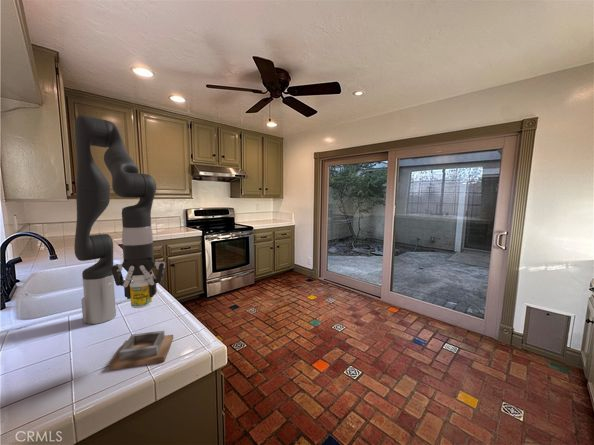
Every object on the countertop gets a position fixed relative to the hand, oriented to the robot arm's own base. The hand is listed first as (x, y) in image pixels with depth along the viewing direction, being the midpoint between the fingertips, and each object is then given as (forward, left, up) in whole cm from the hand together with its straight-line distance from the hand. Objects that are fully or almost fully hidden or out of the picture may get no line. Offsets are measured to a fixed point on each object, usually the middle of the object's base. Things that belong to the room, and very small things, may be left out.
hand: (141, 296), depth 73 cm
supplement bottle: (0, 0, -3) cm, 3 cm away
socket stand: (0, 0, -18) cm, 18 cm away
